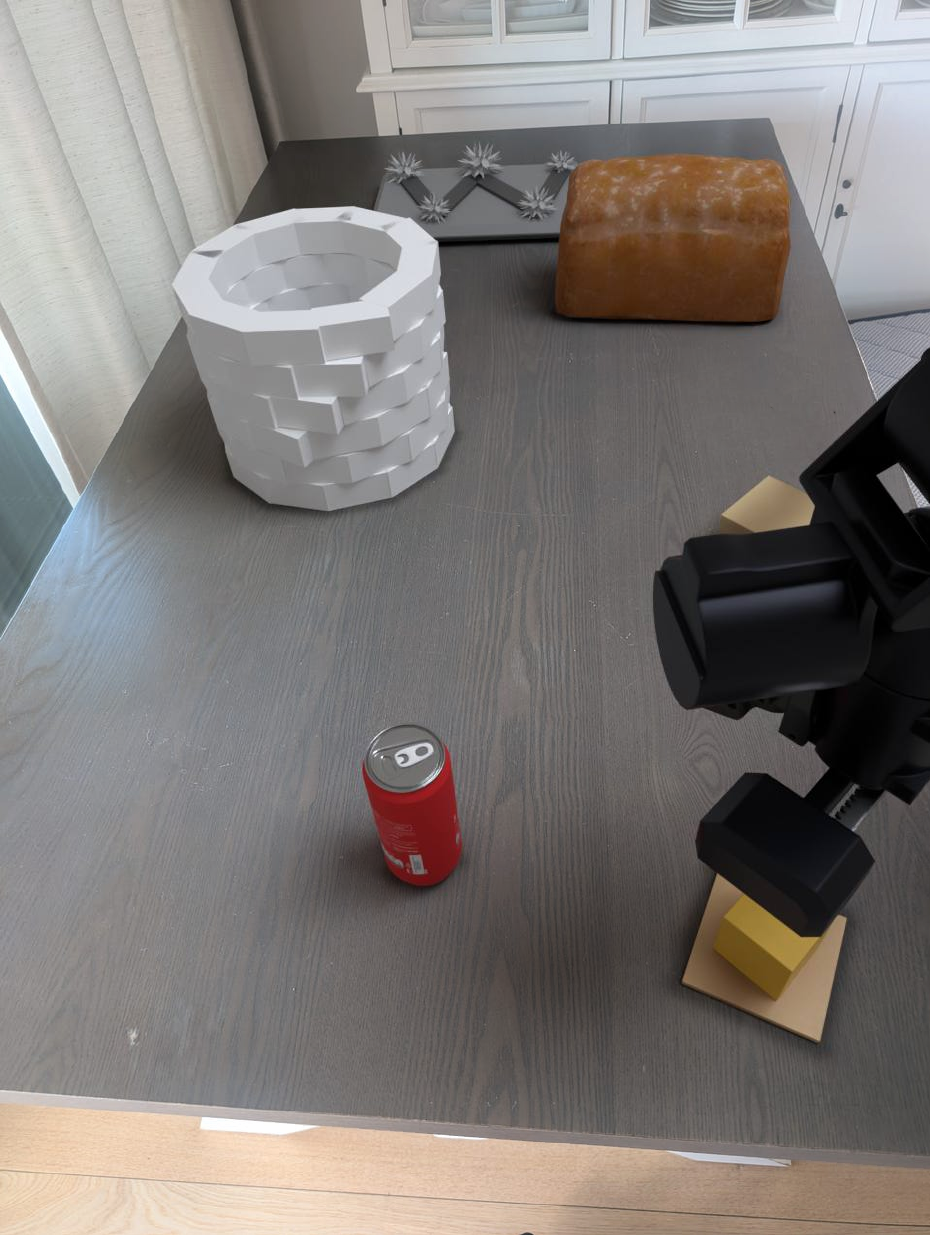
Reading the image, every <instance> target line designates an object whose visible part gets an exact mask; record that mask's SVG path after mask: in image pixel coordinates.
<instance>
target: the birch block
mask: <svg viewBox="0 0 930 1235" xmlns="http://www.w3.org/2000/svg"><path fill="white" fill-rule="evenodd" d="M814 507H815V506H814V504H813V502H812V501H811V499H810V498H809V496H808V494H807V493H806V492H804V491H802V490H800V489H798V488H796V487H793V486H791V485H789V484H787V483H785V482H784V481H782V480H779V479H777V478H775V477H773V476H771V475H767V476H766V477H765V478H764V479H762V480H761V481H760V482H759V483H758V484H756V485H755V486H754V487H753V488H751V489H750V490H749V491H748V492H746V494H744V495H743V496H742V497H741V498H739V499H738V500H737V501H735V503H733V504H732V505H731V506H729V507H728V508H727V509H726V510H725V511H723V512H722V513H721V514H720V518H719V523H718V528H717V533H716V534H749V533H756V532H763V531H770V530H777V529H784V528H790V527H797V526H804V525H810V521H811V518H812V514H813V511H814Z"/></svg>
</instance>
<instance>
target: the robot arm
mask: <svg viewBox="0 0 930 1235" xmlns="http://www.w3.org/2000/svg"><path fill="white" fill-rule="evenodd" d="M897 464H898V465H899V466H900V468H901V469H902V470H903V472H904V473H905V474H906V475H907V477H908V478H909V479H910V480H911V482H912V483H913V484H914V486H915V487H916V488H917V490H918V491H919V493H920V494H921V495H922V496H923V498H924V499H925V500H926V502H927V503H928V504H929V505H928V506H921V507H916V508H912V509H910V510H908V512H903V510H902V508H901V507H900V506H899V504H898V503H897V501H896V500H895V499H894V497H893V496H892V494H891V493H890V492H889V491H888V488H886V487H885V485H884V483H883V482H882V480H881V479H880V478H879V477H878V475H880V474H881V473H884V472H885V471H887V470H888V469H890V468H892V467H894V466H895V465H897ZM798 481H799V483H800V485H801V486H802V488H803V490H804V491H805V493H806V494H808V496H809V498H810V499H811V501H812V502H813V504H814V506H815V507H814V511H813V514H812V518H811V521H810V525H804V526H797V527H790V528H784V529H777V530H770V531H763V532H756V533H749V534H717V533H716V534H715V533H714V534H708V535H707V534H706V535H700V536H694V537H689V538H688V539H687V540H686V541H684V543H683V548H682V554H678V555H672V556H667V557H666V558H665V559H664V560H663V562H662V565H661V567H660V570H655V571H654V575H653V582H652V615H653V624H654V625H653V626H654V631H655V638H656V644H657V648H658V654H659V659H660V663H661V666H662V669H663V673H664V675H665V676H664V677H665V678H666V681H667V684H668V687H669V689H670V691H671V693H672V695H673V697H674V699H675V700H676V701H677V703H678V705H679V706H680V707H681V708H682V709H684V710H686V711H690V710H691V711H692V710H699V709H704V710H707V711H709V712H712V713H714V714H718V715H720V716H723V717H725V718H728V719H730V720H734V721H739V720H742V719H743V718H745V716H746V715H747V714H749V712H750V711H751V710H754V709H755V708H758V709H761V710H762V711H763V710H764V711H767V712H769V713H774V714H783V715H782V718H781V721H780V724H779V728H778V731H777V732H778V733H779V734H781V735H782V736H783V737H785V738H787V739H788V740H790V741H791V742H793V743H794V744H796V745H797V746H799V747H801V748H802V747H805V746H806V745H807V744H808V742H809V743H810V744H812V745H813V746H814V751H815V752H814V753H815V754H816V755H817V756H818V758H819V759H820V760H821V761H822V762H823V763H824V764H825V766H827V767H828V769H827V770H826V772H825V773H824V774H823V775H822V776H820V778H819V779H818V781H817V782H816V783H815V784H814V785H813V787H811V789H810V790H809V791H808V792H807V793H806V794H805V796H804V797H803V796H802V795H800V794H799V793H797V792H796V791H794V790H792V789H791V788H789V787H788V786H786V785H785V784H784V783H782V782H781V781H779V780H777V778H775V777H774V776H772V775H770V774H769V773H768V772H749V771H748V772H744V773H743V774H742V775H741V776H740V777H739V778H738V779H737V780H736V781H735V783H733V785H731V787H730V788H729V789H728V790H727V791H726V792H725V793H724V794H723V795H722V796H721V798H720V799H719V800H718V801H717V802H716V803H715V804H714V805H713V806H712V807H711V808H710V810H709V811H708V812H707V813H706V814H705V815H704V816H703V817H702V818H701V819H700V820H699V824H698V827H697V830H696V831H697V832H696V835H695V838H694V844H695V851H696V858H697V859H698V860H699V861H701V862H702V863H703V864H705V865H706V866H707V867H709V868H710V869H711V870H713V872H715V873H716V874H717V873H718V874H719V875H720V876H722V877H723V878H724V879H726V880H727V881H728V882H730V883H731V884H732V885H733V886H735V887H736V888H737V889H739V890H740V891H741V892H743V893H744V894H745V895H746V896H748V897H749V898H750V899H752V900H753V901H754V902H756V903H757V904H758V905H760V906H761V907H762V908H763V909H765V910H766V911H767V912H769V913H770V914H771V915H773V916H774V917H775V918H776V919H778V920H779V921H780V922H782V923H783V924H784V925H786V926H787V927H788V928H790V929H791V930H792V931H793V932H795V933H796V934H797V935H799V936H800V937H821V936H822V935H823V934H824V932H825V931H826V930H827V928H828V927H829V926H830V925H831V923H832V922H833V921H834V919H835V918H836V917H837V916H838V915H840V914H841V912H842V911H843V909H844V908H845V906H846V905H847V904H848V902H849V901H850V900H851V899H852V898H853V897H854V895H855V893H856V892H857V891H858V889H859V888H860V886H861V885H862V884H863V882H864V880H865V879H866V878H867V876H868V875H869V874H870V871H871V870H872V868H873V866H874V865H875V862H876V860H875V858H874V857H873V855H872V854H871V851H870V850H869V848H868V847H867V845H866V843H865V841H864V840H863V838H862V836H861V835H860V834H858V833H857V832H856V831H857V830H858V829H859V827H860V826H861V825H862V824H863V822H865V820H866V819H867V818H868V816H869V815H870V814H871V812H872V811H874V809H875V808H876V807H877V805H878V804H879V803H880V801H881V800H882V799H883V797H884V796H885V795H886V794H887V793H889V794H891V795H892V796H893V797H896V798H897V799H898V800H900V801H902V802H903V803H905V804H906V805H908V806H911V805H912V803H913V802H914V801H915V800H916V798H917V797H918V796H919V795H920V793H921V792H922V791H923V790H924V788H925V787H926V786H927V785H928V783H929V782H930V346H929V347H928V348H926V349H925V350H924V351H923V352H922V354H921V356H920V359H919V361H917V363H915V364H914V365H913V366H912V367H911V368H910V369H909V370H908V371H907V372H906V373H904V375H903V376H902V377H900V378H899V380H898V381H897V382H896V383H894V384H893V385H892V386H891V387H890V388H889V389H888V390H887V391H885V393H884V394H883V395H882V396H880V397H879V399H877V401H876V402H874V403H873V405H871V406H870V407H869V408H868V409H867V410H866V411H865V412H864V413H863V414H862V415H860V417H859V418H858V419H857V420H856V421H854V423H852V424H851V425H850V427H848V428H847V429H846V430H845V431H844V432H843V433H842V434H841V435H840V436H839V437H837V439H836V440H835V441H833V443H832V444H830V445H829V446H828V448H826V449H825V450H824V451H823V452H822V453H821V454H820V455H819V456H818V457H817V458H816V459H815V460H813V462H812V463H810V464H809V465H808V467H806V469H804V470H803V471H802V472H801V473H800V475H799V476H798ZM855 785H856V786H858V787H856V788H855V790H854V792H853V793H851V794H850V795H849V798H848V799H846V800H845V801H844V804H843V805H841V806H840V808H839V810H836V812H835V814H834V816H831V815H830V814H831V813H832V812H833V810H834V809H835V808H836V807H837V806H838V805H839V803H840V802H842V800H843V799H844V797H845V796H847V794H848V793H849V792H850V790H851V789H852V788H853V787H854V786H855Z"/></svg>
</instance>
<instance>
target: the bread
mask: <svg viewBox="0 0 930 1235" xmlns="http://www.w3.org/2000/svg"><path fill="white" fill-rule="evenodd" d="M578 164H579V165H578V166H577V167H576V168H575V169H574V170H573V171H571V172H570V175H569V184H568V191H567V202H566V205H565V209H564V212H563V215H562V220H561V224H560V237H559V238H558V248H557V261H556V262H557V263H556V274H555V275H556V277H555V293H554V294H555V295H554V296H555V297H554V300H555V308H556V313H557V314H559V315H562V316H565V317H567V318H577V319H578V318H579V319H599V320H648V321H649V320H654V321H681V322H682V321H683V322H711V323H754V322H757V323H759V322H763V321H768V320H769V321H770V320H774V319H775V317H776V316H777V315H778V314H779V311H780V304H781V300H782V294H783V287H784V281H785V276H786V271H787V267H788V262H789V257H790V253H791V249H792V244H791V233H790V220H791V219H790V218H791V205H792V200H791V194H790V188H789V182H788V178H787V175H786V172H785V168H784V166H783V165H782V164H781V163H780V162H779V161H777V160H774V159H770V158H760V159H759V158H758V159H754V160H753V159H751V160H750V159H746V158H743V157H728V156H727V157H726V156H718V155H706V154H688V153H669V154H657V155H646V156H631V157H629V156H628V157H613V158H610V159H608V160H601V159H598V158H597V159H588V160H586V161H583V162H581V163H578Z"/></svg>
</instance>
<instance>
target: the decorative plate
mask: <svg viewBox="0 0 930 1235" xmlns="http://www.w3.org/2000/svg"><path fill="white" fill-rule="evenodd" d="M473 141H474V146H473V150H471V149H470V148H469V147H468V146H467V145H465V147H466V149H464V150H465V151H464V150H461V152H462V153H463V154H464V155H465V156H466V158H462V157H461V158H460V159H461V160H460V159H459V160H458V159H457V161H458V162H459V163H457V165H458V166H459V167H440V168H439V167H438V168H423V167H424V165H422V163H421V160H419V161H417V162H415V161H416V159H415V156H416V154H414V155H413V156H412V153H413V152H410V153H409V155H408V157H407V158H406V156H405V153H404V151H401V153H400V151H399V149H398V160H397V159H396V158H395V157H394V156H393V155H392V154H390V156H391V158H390V159H391V160H389V159H387V161H388V162H389V164H390V165H391V166H387V167H383V169H384V170H387V171H384V172H385V174H384V175H383V177H381V182H380V185H379V189H378V193H377V196H376V200H375V203H374V207H373V210H372V211H376V212H381V213H385V214H390V215H394V216H399V217H403V218H411V219H412V220H413V221H414V222H415V223H417V224H418V225H419V226H420V227H421V228H422V229H423V230H425V231H426V232H427V233H428V234H429V235H430V236H431V237H433V238H434V239H435V240H436V241H438V243H450V242H476V241H477V242H478V241H479V242H480V241H504V240H505V241H506V240H507V241H508V240H535V239H559V237H560V224H561V220H562V215H563V212H564V209H565V205H566V202H567V191H568V184H569V175H570V172H571V171H573V170H574V169H575V168H576V167H577V166H578V165H579V164H580V163H578V162H577V161H575V160H574V159H575V156H573V157H572V158H570V154H571V151H568V150H566V151H565V153H564V155H563V151H562V149H560V150H559V151H557V154H555V155H554V153H551V155H550V156H549V159H550V160H551V161H547V162H546V163H540V164H539V163H537V164H535V163H534V164H511V165H510V164H509V165H501V164H497V163H498V162H499V161H500V160H502V159H503V157H500V154H499V153H501V150H499V151H497V152H495V153H493V154H492V152H493V147H494V145H495V144H494V142H493V144H492V145H491V147H490V148H489V144H490V142H488V143H487V145H486V146H485V148H484V150H482V146H481V142H480V140H479V141H478V145H477V143H476V140H473ZM477 146H478V147H477ZM568 152H569V153H568ZM401 155H402V156H401Z"/></svg>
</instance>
